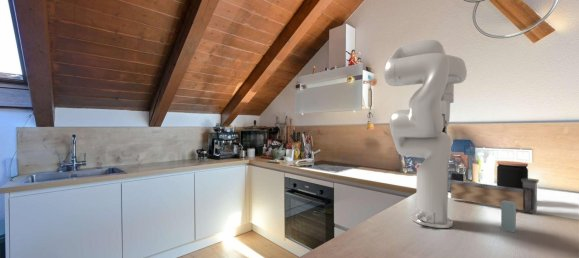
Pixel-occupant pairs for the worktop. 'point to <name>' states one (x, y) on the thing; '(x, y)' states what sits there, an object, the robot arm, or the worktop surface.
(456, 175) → the small box
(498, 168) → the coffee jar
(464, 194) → the gate
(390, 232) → the worktop surface
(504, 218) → the block
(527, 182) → the gate post
